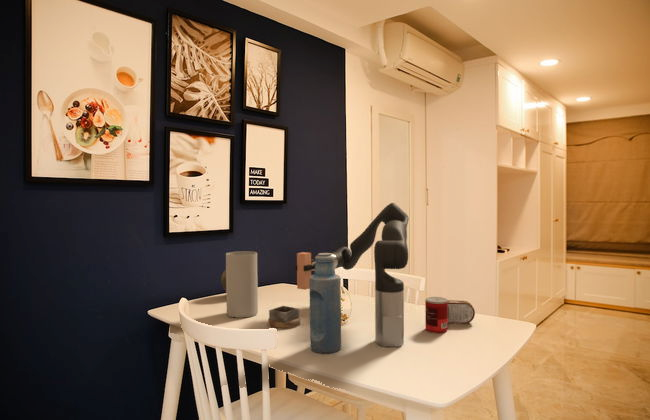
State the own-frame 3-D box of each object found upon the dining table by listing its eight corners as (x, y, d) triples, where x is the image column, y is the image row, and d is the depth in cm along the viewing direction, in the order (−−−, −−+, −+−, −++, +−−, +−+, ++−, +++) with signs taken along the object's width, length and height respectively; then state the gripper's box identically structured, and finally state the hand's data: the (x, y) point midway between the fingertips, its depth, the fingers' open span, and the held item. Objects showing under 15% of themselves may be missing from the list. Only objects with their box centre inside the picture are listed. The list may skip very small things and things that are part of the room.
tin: (473, 322, 159) (473, 300, 159) (475, 324, 156) (475, 302, 156) (433, 321, 161) (433, 299, 161) (434, 323, 158) (434, 301, 157)
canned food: (447, 327, 153) (447, 297, 153) (447, 334, 145) (447, 302, 145) (425, 325, 155) (425, 296, 155) (425, 332, 147) (425, 301, 147)
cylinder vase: (235, 320, 164) (234, 256, 163) (221, 313, 173) (220, 253, 173) (263, 314, 172) (262, 253, 171) (248, 308, 181) (247, 250, 180)
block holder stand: (306, 322, 160) (306, 308, 160) (286, 330, 150) (286, 315, 150) (282, 317, 167) (282, 303, 167) (261, 325, 157) (261, 310, 157)
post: (311, 287, 168) (311, 252, 168) (305, 289, 165) (304, 254, 165) (303, 286, 171) (303, 252, 170) (297, 288, 168) (296, 253, 167)
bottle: (347, 348, 132) (347, 253, 131) (325, 356, 125) (324, 256, 125) (326, 341, 139) (325, 250, 138) (303, 348, 132) (303, 253, 131)
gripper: (311, 252, 183) (285, 257, 169) (338, 254, 175) (314, 260, 161) (311, 269, 184) (286, 275, 170) (339, 272, 175) (314, 279, 161)
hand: (299, 268), depth 166 cm, fingers closed on post, 4 cm apart
